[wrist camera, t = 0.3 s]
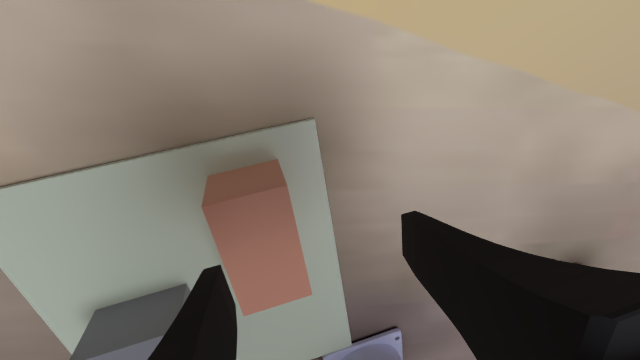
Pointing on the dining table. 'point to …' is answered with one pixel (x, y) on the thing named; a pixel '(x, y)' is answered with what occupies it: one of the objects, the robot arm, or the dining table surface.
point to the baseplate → (169, 239)
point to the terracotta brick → (256, 235)
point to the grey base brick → (130, 326)
